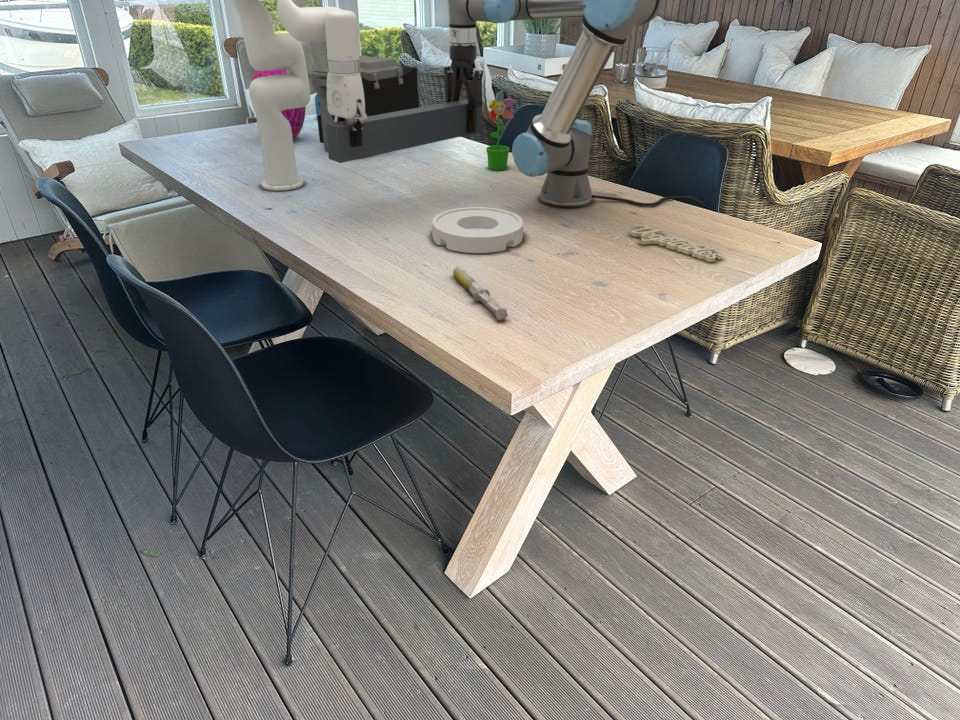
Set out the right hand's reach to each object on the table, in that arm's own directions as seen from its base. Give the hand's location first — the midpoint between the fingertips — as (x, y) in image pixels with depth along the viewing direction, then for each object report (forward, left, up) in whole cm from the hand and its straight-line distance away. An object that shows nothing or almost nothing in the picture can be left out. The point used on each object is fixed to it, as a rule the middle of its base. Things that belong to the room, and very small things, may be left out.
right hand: (464, 130), depth 202 cm
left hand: (+13, +39, +3) cm, 41 cm away
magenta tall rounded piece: (+90, -27, -18) cm, 96 cm away
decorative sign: (-67, +19, -18) cm, 72 cm away
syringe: (-37, +68, -18) cm, 79 cm away
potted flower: (+1, -28, -18) cm, 33 cm away
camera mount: (+95, -67, -18) cm, 117 cm away
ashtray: (-21, +35, -18) cm, 45 cm away
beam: (+7, +19, -1) cm, 21 cm away
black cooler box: (+56, -34, -18) cm, 68 cm away
